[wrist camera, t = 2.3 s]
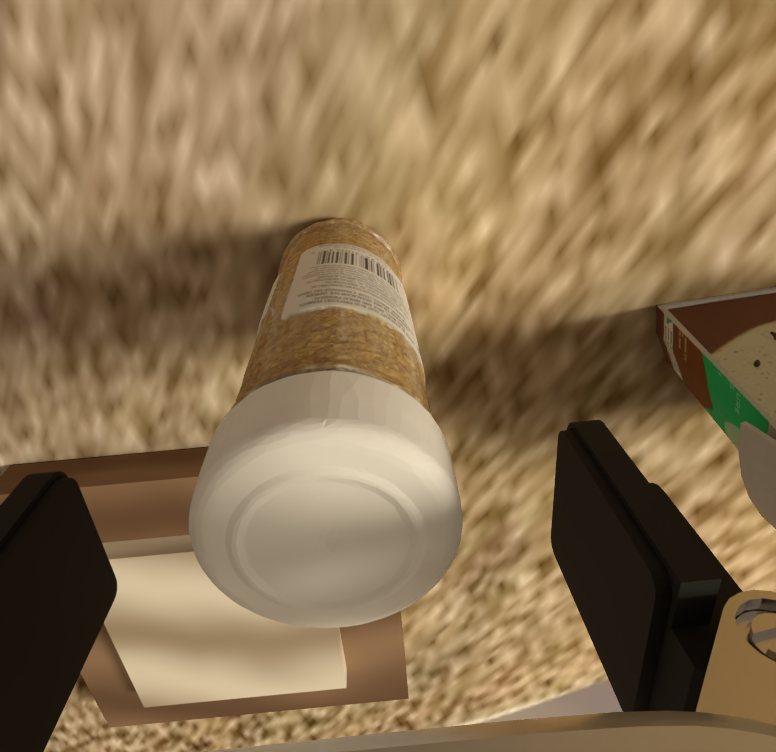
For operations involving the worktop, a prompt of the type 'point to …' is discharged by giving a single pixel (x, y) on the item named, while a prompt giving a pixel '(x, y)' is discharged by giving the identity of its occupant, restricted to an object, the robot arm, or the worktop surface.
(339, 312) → the sprinkles bottle
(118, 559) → the stacking base
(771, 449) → the food container
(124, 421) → the worktop surface
